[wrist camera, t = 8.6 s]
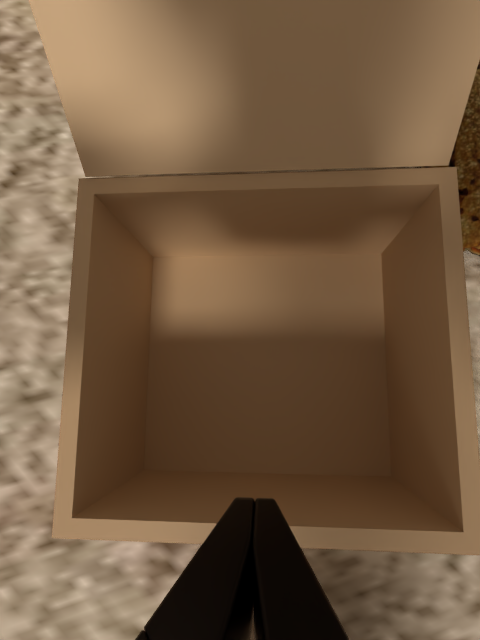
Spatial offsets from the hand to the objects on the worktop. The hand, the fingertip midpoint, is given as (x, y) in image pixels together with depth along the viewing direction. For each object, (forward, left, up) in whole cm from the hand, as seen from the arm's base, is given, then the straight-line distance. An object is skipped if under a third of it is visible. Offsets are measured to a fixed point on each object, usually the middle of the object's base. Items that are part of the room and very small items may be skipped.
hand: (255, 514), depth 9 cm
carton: (+3, -3, -12) cm, 13 cm away
